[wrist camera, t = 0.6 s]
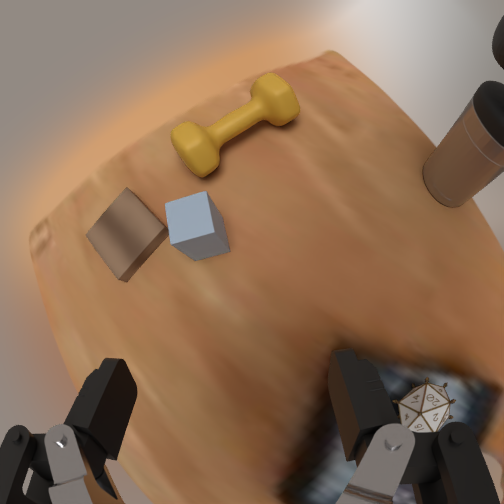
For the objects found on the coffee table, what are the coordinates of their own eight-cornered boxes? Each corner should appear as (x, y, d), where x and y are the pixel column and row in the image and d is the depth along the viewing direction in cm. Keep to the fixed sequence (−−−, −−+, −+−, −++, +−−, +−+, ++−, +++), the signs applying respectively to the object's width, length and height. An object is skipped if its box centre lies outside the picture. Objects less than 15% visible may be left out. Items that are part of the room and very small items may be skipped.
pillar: (222, 217, 40) (206, 190, 31) (230, 251, 39) (214, 232, 30) (189, 227, 40) (164, 203, 32) (195, 261, 39) (170, 244, 30)
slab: (135, 194, 43) (126, 186, 40) (172, 233, 41) (164, 226, 38) (96, 240, 42) (85, 235, 40) (128, 282, 40) (118, 279, 37)
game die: (391, 398, 35) (372, 403, 28) (438, 365, 32) (432, 361, 26) (415, 445, 29) (402, 462, 22) (465, 413, 26) (467, 422, 20)
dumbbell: (270, 95, 45) (267, 61, 37) (305, 126, 42) (307, 92, 34) (176, 153, 44) (157, 124, 36) (204, 191, 42) (187, 164, 34)
